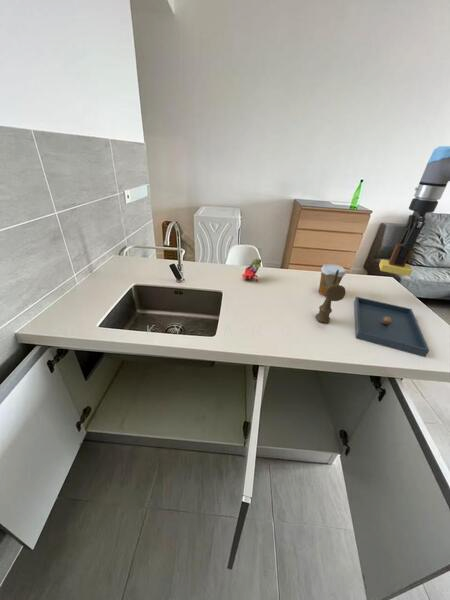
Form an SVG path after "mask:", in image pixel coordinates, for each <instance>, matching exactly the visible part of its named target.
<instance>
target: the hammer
mask: <svg viewBox="0 0 450 600" xmlns="http://www.w3.org/2000/svg"><path fill="white" fill-rule="evenodd" d="M400 246H403V244H400V242H396V244H395V246H394V248H393V251H392V253H391V255H390V258H389V259H380V261H379V264H378V266H379V270H380V272H385V273H390V274H395V275H400V276H406V277H410V276H411V275H412V273H413V269H412V267H411V265H410V264H409V263H407V262H408V259H409V258H410V255H411V253H412V251H413V249H414V247H413V248H412V249H409V251H408V253H407V255H406V258H405V260H404V262H403V264H402V265H399V264H394V261H395V259H396V257H397V255H398V252H399V250H400Z"/></svg>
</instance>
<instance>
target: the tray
mask: <svg viewBox="0 0 450 600" xmlns="http://www.w3.org/2000/svg"><path fill="white" fill-rule="evenodd" d="M353 306H354V307H353V309H354V325H355V339H357V340H361V341H365V342H369V343H372V344H375V345H376V344H377V345H380V346H383V347H387V348H391V349H394V350H399V351H402V352H406V353H409V354H413V355H416V356H420V357H424V358H426V357H427V355H428V354H429V352H430V348H429V347H428V343H427V342H426V339H425V337H424V335H423V332H422V330H421V328H420V325H419V323H418V321H417V319H416V316H415V314H414V312H413V308H408V307H405V306H399V305H395V304H391V303H386V302H382V301H377V300H372V299H369V298H365V297H360V296H355V298H354V301H353ZM386 316H387V317H390V318H391V320H392V322H391V324H389V325H385V324H383V323H382V318H383V317H386Z"/></svg>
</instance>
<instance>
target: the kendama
mask: <svg viewBox="0 0 450 600" xmlns="http://www.w3.org/2000/svg"><path fill="white" fill-rule="evenodd" d="M338 272H339V270H337V271H336V273H335V275H333V274H328V275H326V276H324V277H323V279H322V286H323V287H325V288H328V289H327V291H326V296H325V300H324V301H323V303H322V304H321V305H319V307H318V309H319V312H318V313H316V314H315V319H316V320H317V321H318V322H320V323H322V324H327V323H330V321H331V318H330V314H331V313H333V310H332V302H339V301H342V299H344V297H345V296H346V287H344V286H343V285H341V284H339V285H337V284H338V281H339V279H338V277H337V276H338Z"/></svg>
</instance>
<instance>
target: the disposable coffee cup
mask: <svg viewBox="0 0 450 600" xmlns="http://www.w3.org/2000/svg"><path fill="white" fill-rule="evenodd" d="M320 270H321V271H320V272H321V274H320V280H319V287H318V293H319V294H320V296H324V297H326V291H327V289H328V288H325V287H323V286H322V279H323V277H324V276H326V275H328V274H333V275H335V273H336V271H337V270H339V272H338V276H337V277H338V279H339V281H338V284H337V285H340V283H341V281H342V279H343V277H344V276H345V275H346V269H345V268H344V267H342V266H341V265H338V264H333V263H325V264H323V265H322V267H321V268H320Z"/></svg>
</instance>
